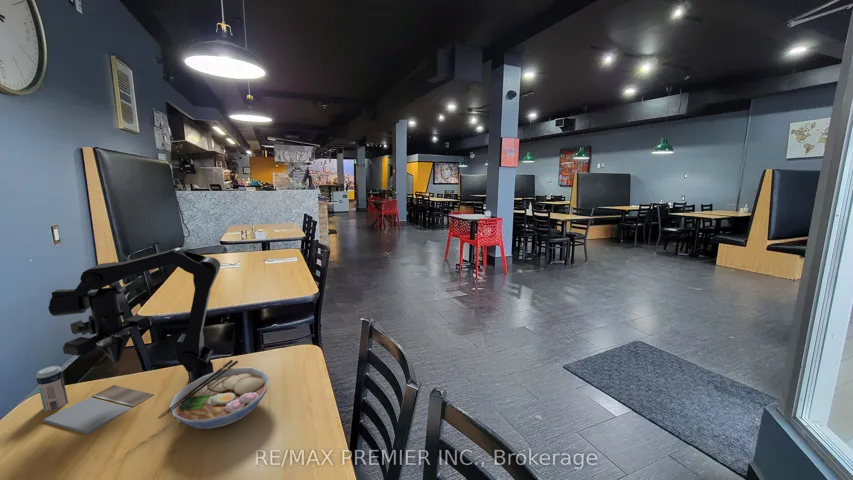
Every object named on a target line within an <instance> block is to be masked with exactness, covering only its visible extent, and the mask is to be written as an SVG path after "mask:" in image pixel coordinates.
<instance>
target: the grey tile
mask: <svg viewBox="0 0 853 480" xmlns="http://www.w3.org/2000/svg"><path fill="white" fill-rule="evenodd" d="M131 409H132V407H130V406H126V405H122V404H118V403H114V402H110V401H106V400H102V399H98V398H94V397H88V398H86V399H84V400H81V401H79V402H77V403H75V404H72V405H71V406H68V407H67V408H63V409H62V410H59V411H58V412H56V413H53V414H52V415H49V416H46V417H44V418H43V420H42V421H43V422H44V423H47V424H50V425H53V426H56V427H61V428H64V429H66V430H67V429H68V430H70V431H74V432H77V433H81V434H84V435H89V434H92V432H94V431H96V430H97V429H99V428H101V427H103V426H104V425H106V424H108V423H110V422H112V421H114V419H117V418H118V417H120V416H121V415H123V414H125V413H126V412H128V411H130V410H131Z"/></svg>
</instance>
